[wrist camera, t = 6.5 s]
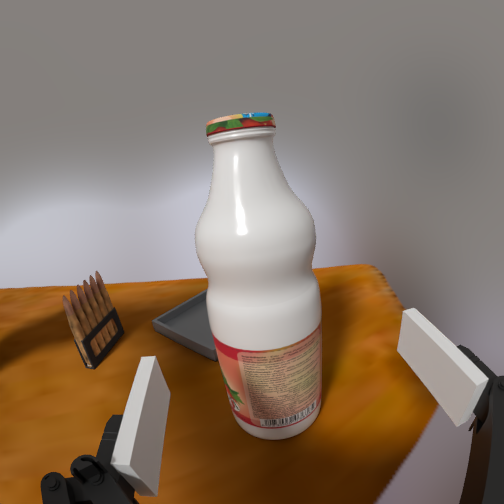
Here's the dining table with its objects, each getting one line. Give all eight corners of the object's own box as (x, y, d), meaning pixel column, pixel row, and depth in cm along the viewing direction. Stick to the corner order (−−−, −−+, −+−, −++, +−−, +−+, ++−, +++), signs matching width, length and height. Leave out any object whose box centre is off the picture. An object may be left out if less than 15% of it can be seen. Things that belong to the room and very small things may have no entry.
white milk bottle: (300, 453, 23) (270, 99, 14) (216, 425, 27) (145, 132, 18) (332, 388, 30) (321, 113, 21) (258, 372, 35) (222, 128, 26)
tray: (154, 330, 47) (151, 320, 46) (214, 295, 57) (212, 285, 57) (216, 361, 38) (213, 350, 37) (277, 312, 48) (276, 301, 48)
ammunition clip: (116, 331, 48) (95, 269, 44) (124, 332, 47) (103, 268, 43) (85, 368, 38) (55, 298, 34) (94, 369, 37) (63, 298, 33)
